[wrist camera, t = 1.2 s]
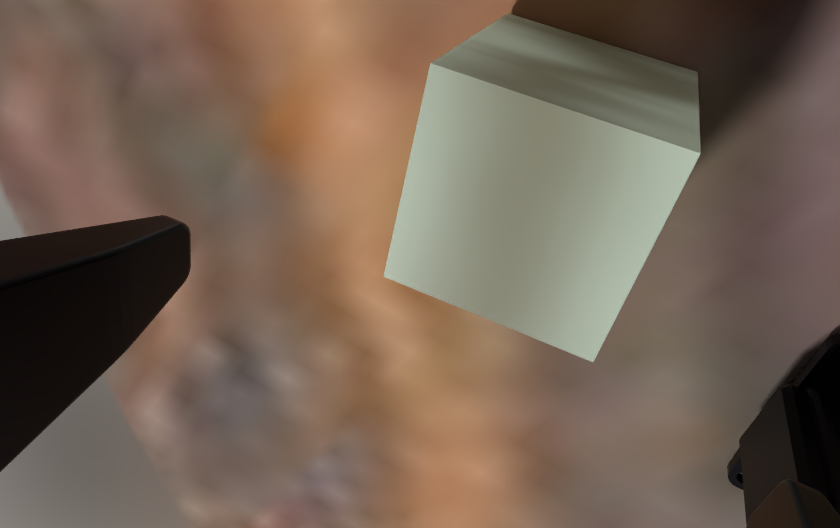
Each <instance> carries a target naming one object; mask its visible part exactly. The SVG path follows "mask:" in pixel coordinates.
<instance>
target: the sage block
mask: <svg viewBox="0 0 840 528" xmlns="http://www.w3.org/2000/svg"><path fill="white" fill-rule="evenodd" d="M700 154H701V148H700V121H699V94H698V72H696V71H693V70H690V69H686V68H683V67H680V66H677V65H673V64H670V63H667V62H664V61H661V60H657V59H654V58H651V57H648V56H644V55H641V54H638V53H635V52H632V51H628V50H625V49H622V48H619V47H615V46H612V45H609V44H606V43H603V42H599V41H596V40H593V39H590V38H586V37H583V36H580V35H577V34H574V33H570V32H567V31H564V30H561V29H557V28H554V27H551V26H548V25H545V24H541V23H538V22H535V21H532V20H528V19H525V18H522V17H519V16H516V15H512V14H509V13H507V14H506V15H504V16H503V17H501V18H500V19H498V20H497V21H495V22H494V23H492V24H490V25H489V26H487V27H486V28H484V29H483V30H481V31H480V32H478V33H476V34H475V35H473V36H472V37H470V38H469V39H467V40H466V41H464V42H463V43H461V44H459V45H458V46H456V47H455V48H453V49H452V50H450V51H449V52H447V53H446V54H444V55H442V56H441V57H439V58H438V59H436V60H435V61H433V62H432V63H430V68H429V72H428V77H427V81H426V86H425V90H424V95H423V100H422V104H421V109H420V113H419V118H418V122H417V127H416V131H415V136H414V141H413V145H412V150H411V154H410V159H409V163H408V168H407V172H406V177H405V181H404V186H403V191H402V195H401V200H400V204H399V209H398V213H397V218H396V222H395V227H394V232H393V236H392V241H391V245H390V250H389V254H388V259H387V263H386V268H385V273H384V277H386V278H388V279H391V280H393V281H396V282H398V283H401V284H403V285H405V286H408V287H410V288H413V289H415V290H418V291H420V292H423V293H425V294H427V295H430V296H432V297H435V298H437V299H440V300H442V301H445V302H447V303H449V304H452V305H454V306H457V307H459V308H462V309H464V310H467V311H469V312H471V313H474V314H476V315H479V316H481V317H484V318H486V319H489V320H491V321H493V322H496V323H498V324H501V325H503V326H506V327H508V328H511V329H513V330H515V331H518V332H520V333H523V334H525V335H528V336H530V337H533V338H535V339H537V340H540V341H542V342H545V343H547V344H550V345H552V346H555V347H557V348H559V349H562V350H564V351H567V352H569V353H572V354H574V355H577V356H579V357H581V358H584V359H586V360H589V361H591V362H593V361H594V360H595V358H596V356H597V354H598V352H599V350H600V348H601V346H602V344H603V342H604V340H605V338H606V336H607V334H608V332H609V330H610V328H611V327H612V325H613V323H614V321H615V319H616V317H617V315H618V313H619V311H620V309H621V307H622V305H623V303H624V301H625V299H626V297H627V295H628V294H629V292H630V290H631V288H632V286H633V284H634V282H635V280H636V278H637V276H638V274H639V272H640V270H641V268H642V266H643V264H644V263H645V261H646V259H647V257H648V255H649V253H650V251H651V249H652V247H653V245H654V243H655V241H656V239H657V237H658V235H659V233H660V231H661V230H662V228H663V226H664V224H665V222H666V220H667V218H668V216H669V214H670V212H671V210H672V208H673V206H674V204H675V202H676V200H677V198H678V197H679V195H680V193H681V191H682V189H683V187H684V185H685V183H686V181H687V179H688V177H689V175H690V173H691V171H692V169H693V167H694V166H695V164H696V162H697V160H698V158H699V156H700Z"/></svg>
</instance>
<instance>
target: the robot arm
mask: <svg viewBox="0 0 840 528" xmlns="http://www.w3.org/2000/svg"><path fill="white" fill-rule="evenodd" d="M190 267H191V243H190V230H189V227H188V226H187V225H186V224H185V223H183V222H180V221H178V220H176V219H173V218H171V217H168V216H163V215H161V216H154V217H148V218H142V219H135V220H129V221H123V222H116V223H110V224H104V225H97V226H91V227H85V228H79V229H72V230H66V231H60V232H53V233H47V234H41V235H34V236H28V237H22V238H15V239H9V240H3V241H0V472H1V471H2V470H3V469H4V468H5V467H6V466H7V465H8V464H9V463H10V462H11V461H12V460H13V459H14V458H15V457H16V456H17V455H19V454H20V453H21V452H22V451H23V450H24V449H25V448H26V447H27V446H28V445H29V444H30V443H31V442H32V441H33V440H34V439H35V438H36V437H37V436H38V435H39V434H40V433H41V432H42V431H43V430H45V429H46V428H47V427H48V426H49V425H50V424H51V423H52V422H53V421H54V420H55V419H56V418H57V417H58V416H59V415H60V414H61V413H62V412H63V411H64V410H65V409H66V408H68V406H70V404H72V403H73V402H74V401H75V400H76V399H77V398H78V397H79V396H80V395H81V394H82V393H83V392H84V391H85V390H86V389H87V388H88V387H89V386H90V385H92V384H93V383H94V382H95V381H96V380H97V379H98V378H99V377H100V376H101V375H102V374H103V373H104V372H105V371H106V370H107V369H108V368H109V367H110V366H111V365H112V364H113V363H114V362H115V361H116V360H117V359H118V358H119V357H120V356H121V355H122V354H123V353H124V352H125V351H126V350H127V349H128V348H129V347H130V346H131V345H132V344H133V342H134V341H135V340H136V339H137V338H138V337H139V336H140V334H141V333H142V332H143V331H144V330H145V328H146V327H147V326H148V325H149V324H150V323H151V321H152V320H153V319H154V318H155V317H156V315H157V314H158V313H159V312H160V311H161V309H162V308H163V307H164V306H165V305H166V304H167V302H168V301H169V300H170V299H171V298H172V296H173V295H174V294H175V293H176V292H177V291H178V289H179V288H180V287H181V286H182V285H183V283H184V282H185V281H186V279H187V277H188V275H189V272H190ZM839 351H840V334H837V335H834V336H832V337H830V338H829V339H827V340H826V341H825V342H824V343H823V345H822V346H821V347H820V348H819V350H818V351H817V352H816V354H815V355H814V356H813V357H812V359H811V360H810V361H809V362H808V364H807V365H806V366H805V367H804V369H803V370H802V371H801V372H800V374H799V375H798V376H797V377H796V379H795V380H794V381H793V383H792V384H788V385H785V386H783V387H781V388H779V389H778V390H777V392H776V393H775V394H774V396H773V397H772V398H771V399H770V401H769V402H768V403H767V404H766V406H765V407H764V408H763V410H762V411H761V412H760V413H759V415H758V416H757V417H756V419H755V420H754V421H753V422H752V424H751V425H750V426H749V428H748V429H747V430H746V431H745V433H744V434H743V435H742V436H741V438H740V440H739V443H740V449H739V451H738V452H737V453H736V454H735V456H734V457H733V458H732V459H731V461H730V462H729V464H728V466H727V469H728V478H729V481H730V482H731V483H732V484H733V485H734V486H736V487H738V488H740V489H743V490H744V500H745V512H746V523H747V527H746V528H840V355H837V353H838V352H839ZM740 473H742V474H740Z"/></svg>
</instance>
